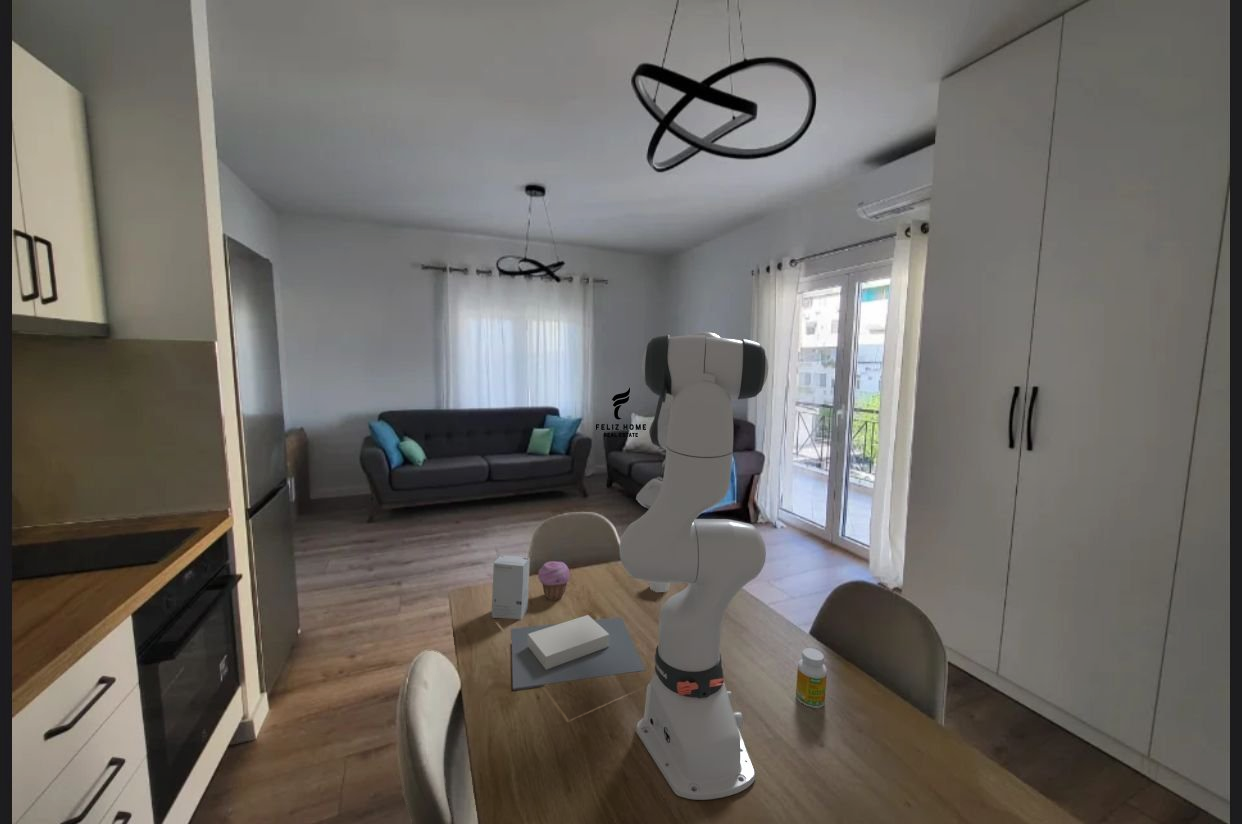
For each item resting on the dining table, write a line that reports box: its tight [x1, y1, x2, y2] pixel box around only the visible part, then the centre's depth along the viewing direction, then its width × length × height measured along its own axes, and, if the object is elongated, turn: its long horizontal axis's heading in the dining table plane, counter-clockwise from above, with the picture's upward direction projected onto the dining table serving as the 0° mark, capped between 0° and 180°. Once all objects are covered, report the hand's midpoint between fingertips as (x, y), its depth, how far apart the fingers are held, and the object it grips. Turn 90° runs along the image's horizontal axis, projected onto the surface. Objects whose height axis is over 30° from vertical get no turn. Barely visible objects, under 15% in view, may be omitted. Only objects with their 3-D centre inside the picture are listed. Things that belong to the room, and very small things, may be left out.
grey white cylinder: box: [649, 581, 671, 593], centre depth 141 cm, size 7×7×7 cm
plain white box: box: [528, 614, 609, 670], centre depth 111 cm, size 3×10×16 cm
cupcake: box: [538, 561, 571, 601], centre depth 135 cm, size 9×9×10 cm
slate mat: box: [511, 616, 646, 691], centre depth 110 cm, size 22×28×1 cm
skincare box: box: [491, 554, 531, 621], centre depth 125 cm, size 8×6×15 cm
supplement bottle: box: [795, 647, 828, 709], centre depth 95 cm, size 5×5×10 cm
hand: (649, 526), depth 121 cm, fingers closed
